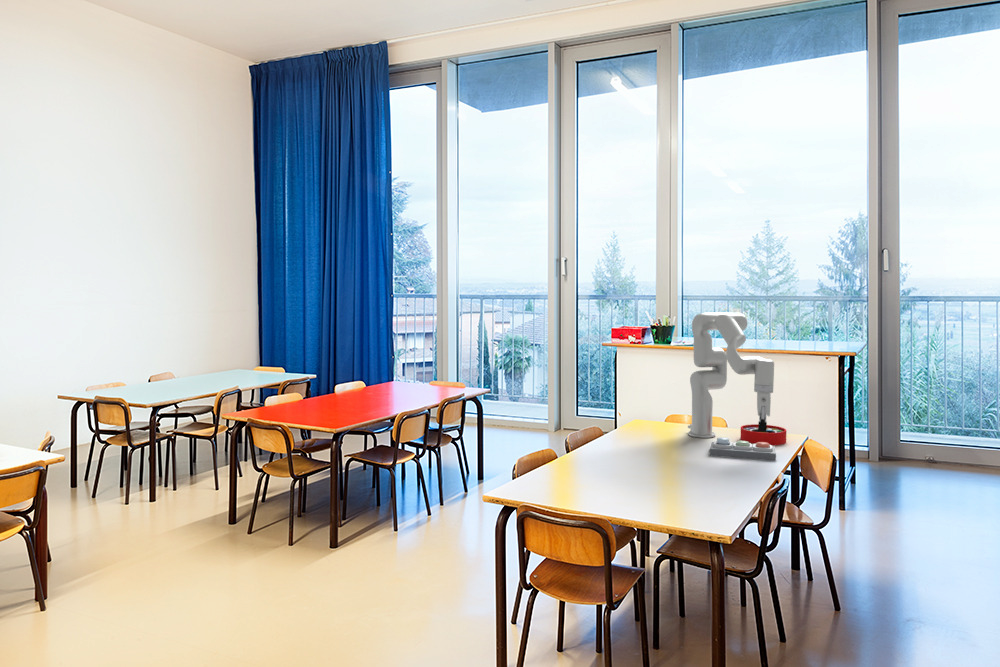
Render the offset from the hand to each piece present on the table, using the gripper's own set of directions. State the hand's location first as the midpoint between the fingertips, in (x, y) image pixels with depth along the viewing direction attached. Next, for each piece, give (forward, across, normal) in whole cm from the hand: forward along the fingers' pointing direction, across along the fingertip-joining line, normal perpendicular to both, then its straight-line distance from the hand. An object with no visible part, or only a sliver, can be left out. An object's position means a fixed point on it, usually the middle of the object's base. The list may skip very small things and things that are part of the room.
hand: (762, 431), depth 287 cm
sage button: (+7, 0, +8) cm, 11 cm away
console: (+11, 0, +8) cm, 13 cm away
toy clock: (+12, +31, -1) cm, 33 cm away
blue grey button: (+7, 0, +16) cm, 17 cm away
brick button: (+7, 0, 0) cm, 7 cm away
